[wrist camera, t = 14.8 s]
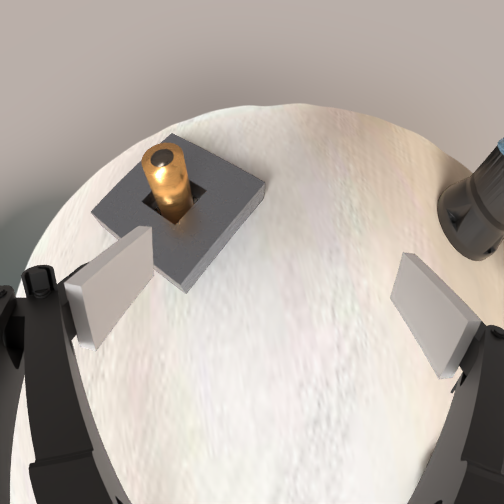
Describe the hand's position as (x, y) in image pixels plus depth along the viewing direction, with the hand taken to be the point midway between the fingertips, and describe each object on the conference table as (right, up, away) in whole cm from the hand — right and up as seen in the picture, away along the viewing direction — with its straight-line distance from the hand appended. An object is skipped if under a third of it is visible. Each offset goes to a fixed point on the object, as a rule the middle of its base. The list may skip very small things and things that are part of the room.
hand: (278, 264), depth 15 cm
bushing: (-12, +7, +28) cm, 31 cm away
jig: (-12, +7, +28) cm, 31 cm away
